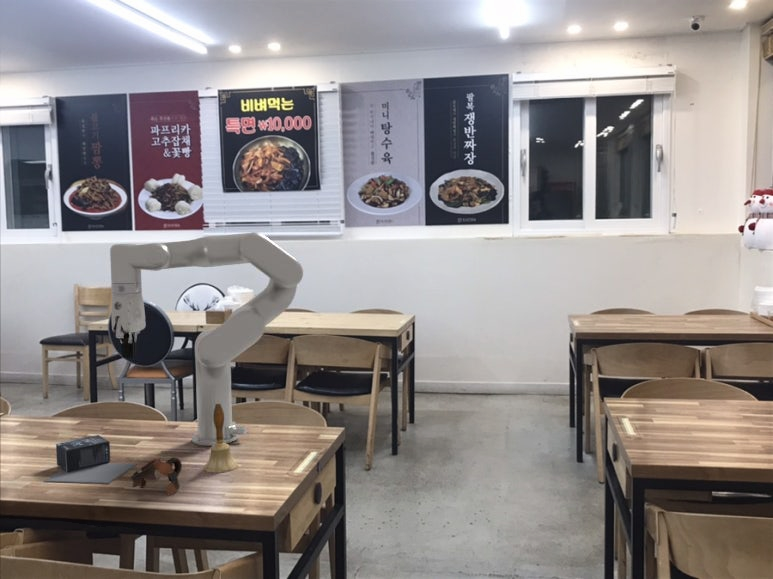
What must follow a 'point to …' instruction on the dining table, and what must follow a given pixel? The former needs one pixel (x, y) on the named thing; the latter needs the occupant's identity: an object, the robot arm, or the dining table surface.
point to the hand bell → (220, 448)
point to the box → (83, 453)
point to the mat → (93, 474)
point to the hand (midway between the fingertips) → (129, 357)
